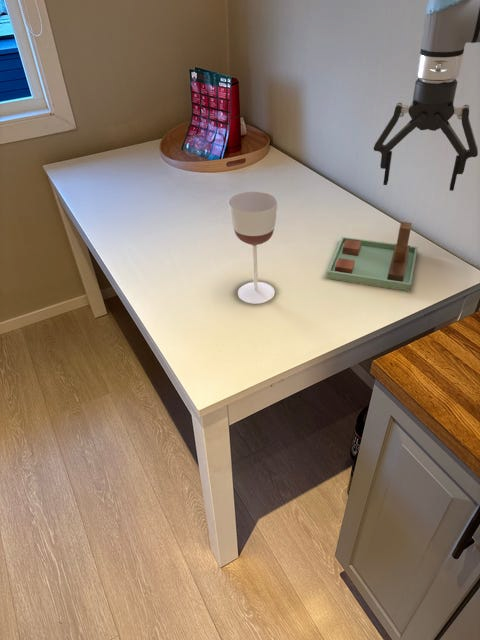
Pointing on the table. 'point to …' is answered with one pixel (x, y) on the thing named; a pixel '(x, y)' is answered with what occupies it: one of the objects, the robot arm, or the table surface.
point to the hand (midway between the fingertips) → (418, 185)
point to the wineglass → (254, 235)
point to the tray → (373, 265)
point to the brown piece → (400, 253)
